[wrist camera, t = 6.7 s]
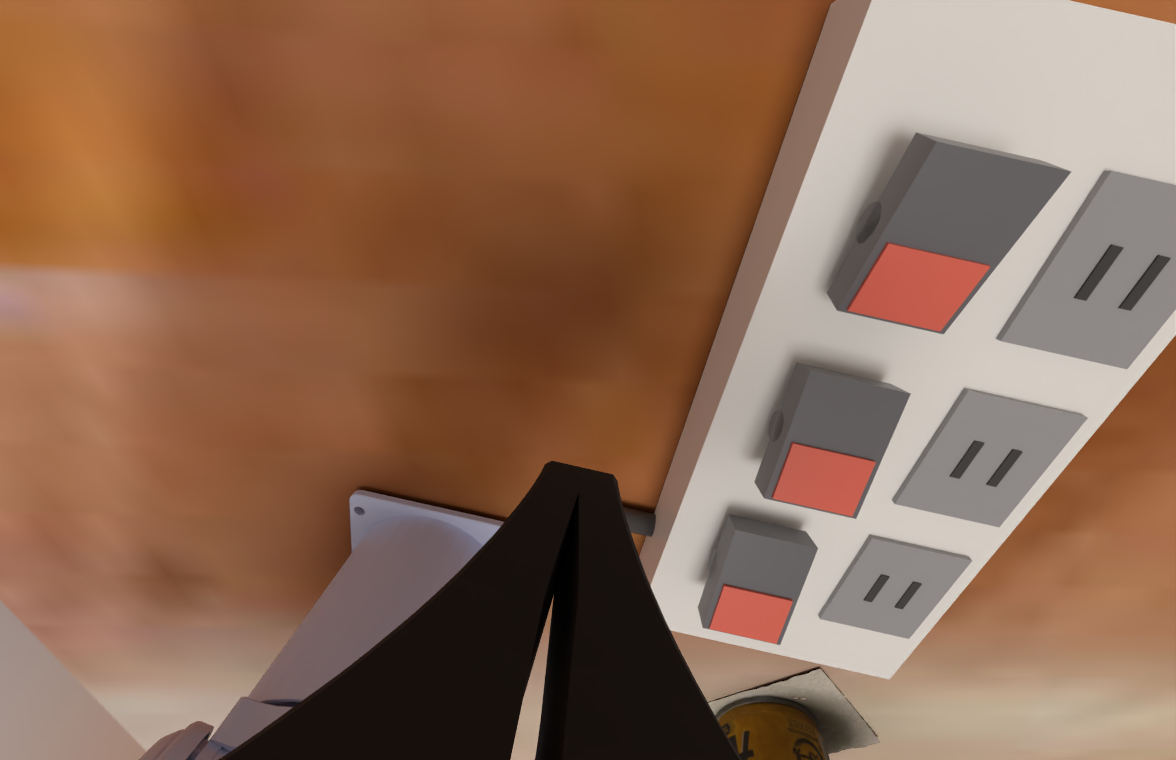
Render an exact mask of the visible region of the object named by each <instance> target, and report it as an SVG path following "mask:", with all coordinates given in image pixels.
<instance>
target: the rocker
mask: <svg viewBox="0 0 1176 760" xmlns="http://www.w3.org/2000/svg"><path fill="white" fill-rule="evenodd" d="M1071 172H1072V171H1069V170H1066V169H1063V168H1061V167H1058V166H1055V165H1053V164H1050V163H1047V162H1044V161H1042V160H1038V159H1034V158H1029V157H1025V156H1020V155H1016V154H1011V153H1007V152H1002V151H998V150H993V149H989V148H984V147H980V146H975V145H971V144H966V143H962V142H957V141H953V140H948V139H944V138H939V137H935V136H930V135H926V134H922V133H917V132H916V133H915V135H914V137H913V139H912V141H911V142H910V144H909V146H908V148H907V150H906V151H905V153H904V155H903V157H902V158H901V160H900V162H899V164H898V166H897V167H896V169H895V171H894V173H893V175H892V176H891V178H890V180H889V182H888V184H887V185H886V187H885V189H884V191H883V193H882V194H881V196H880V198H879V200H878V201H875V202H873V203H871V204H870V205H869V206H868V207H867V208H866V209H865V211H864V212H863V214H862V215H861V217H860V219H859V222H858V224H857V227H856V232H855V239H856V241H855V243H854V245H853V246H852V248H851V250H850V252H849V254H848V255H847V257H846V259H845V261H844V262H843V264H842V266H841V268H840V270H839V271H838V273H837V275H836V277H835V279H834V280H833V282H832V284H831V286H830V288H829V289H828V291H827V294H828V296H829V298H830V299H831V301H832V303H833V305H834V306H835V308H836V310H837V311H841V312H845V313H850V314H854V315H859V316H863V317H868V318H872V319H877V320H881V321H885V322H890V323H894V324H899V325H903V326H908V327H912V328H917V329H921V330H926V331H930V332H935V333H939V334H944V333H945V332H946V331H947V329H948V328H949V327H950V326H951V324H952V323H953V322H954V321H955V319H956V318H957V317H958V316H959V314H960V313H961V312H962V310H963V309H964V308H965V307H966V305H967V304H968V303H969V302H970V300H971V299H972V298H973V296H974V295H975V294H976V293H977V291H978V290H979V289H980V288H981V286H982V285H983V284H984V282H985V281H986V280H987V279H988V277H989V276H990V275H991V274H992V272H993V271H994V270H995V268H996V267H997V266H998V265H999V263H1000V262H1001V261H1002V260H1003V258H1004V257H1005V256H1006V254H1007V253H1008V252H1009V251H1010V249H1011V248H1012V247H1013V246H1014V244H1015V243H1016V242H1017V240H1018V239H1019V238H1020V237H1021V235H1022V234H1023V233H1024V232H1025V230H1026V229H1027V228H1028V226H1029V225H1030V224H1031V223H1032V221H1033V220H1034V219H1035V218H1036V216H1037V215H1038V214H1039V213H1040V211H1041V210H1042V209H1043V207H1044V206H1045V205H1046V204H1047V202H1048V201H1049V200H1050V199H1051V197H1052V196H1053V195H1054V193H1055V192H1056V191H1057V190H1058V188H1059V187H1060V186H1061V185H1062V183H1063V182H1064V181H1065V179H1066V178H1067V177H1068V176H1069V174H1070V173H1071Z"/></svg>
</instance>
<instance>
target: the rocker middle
mask: <svg viewBox="0 0 1176 760" xmlns="http://www.w3.org/2000/svg"><path fill="white" fill-rule="evenodd" d="M909 397H910V393H908V392H906V391H904V390H902V389H900V388H898V387H896V386H894V385H892V384H890V383H886V382H882V381H877V380H873V379H868V378H864V377H859V376H855V375H850V374H846V373H841V372H837V371H832V370H828V369H823V368H819V367H814V366H810V365H806V364H801V363H796V366H795V369H794V371H793V374H792V377H791V380H790V383H789V386H788V388H787V391H786V394H785V397H784V400H783V402H782V405H781V408H780V410H777V411H775V412H774V414H773V415H772V417H771V420H770V423H769V429H768V435H769V442H768V445H767V448H766V450H765V453H764V456H763V459H762V462H761V465H760V467H759V470H758V473H757V476H756V479H755V484H756V486H757V488H758V489H759V491H760V493H761V494H762V496H763V498H764V499H769V500H773V501H778V502H782V503H787V504H791V505H796V506H800V507H804V508H809V509H813V510H818V511H822V512H827V513H831V514H836V515H840V516H845V517H849V518H854V519H856V518H857V516H858V514H859V511H860V509H861V507H862V505H863V502H864V500H865V498H866V495H867V493H868V491H869V488H870V486H871V484H872V482H873V479H874V477H875V475H876V472H877V470H878V468H879V466H880V463H881V461H882V459H883V456H884V454H885V452H886V449H887V447H888V445H889V443H890V440H891V438H892V436H893V433H894V431H895V429H896V427H897V424H898V422H899V420H900V417H901V415H902V413H903V411H904V408H905V406H906V404H907V401H908V399H909Z"/></svg>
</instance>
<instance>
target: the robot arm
mask: <svg viewBox="0 0 1176 760" xmlns="http://www.w3.org/2000/svg"><path fill="white" fill-rule="evenodd" d="M349 503H350V524H351V546H352V553H351V555H350V556H349V558H348V559H347V560H346V562H345V563H344V564H343V566H342V567H341V569H340V570H339V571H338V573H337V574H336V576H335V577H334V578H333V580H332V581H331V582H330V584H329V585H328V587H327V588H326V589H325V591H324V592H323V594H322V595H321V596H320V598H319V599H318V600H317V602H316V603H315V605H314V606H313V607H312V609H311V610H310V612H309V613H308V614H307V616H306V617H305V618H304V620H303V621H302V623H301V624H300V625H299V627H298V628H297V630H296V631H295V632H294V634H293V635H292V636H291V638H290V639H289V641H288V642H287V643H286V645H285V646H284V648H283V649H282V650H281V652H280V653H279V654H278V656H277V657H276V659H275V660H274V661H273V663H272V664H271V666H270V667H269V668H268V670H267V671H266V672H265V674H264V675H263V677H262V678H261V679H260V681H259V682H258V684H257V685H256V686H255V688H254V689H253V690H252V692H251V693H250V695H249V696H248V697H241V698H240V699H239V701H238V702H237V703H236V705H235V706H234V708H233V709H232V710H231V712H230V713H229V714H228V716H227V717H226V718H225V720H224V721H223V723H222V724H221V725H220V727H219V728H218V729H217V731H216V732H215V733H214V735H213V736H212V738H211V739H210V740H209V741H208V738H209V737H210V735H211V733H212V731H213V729H214V727H213V726H211V725H209V724H207V723H204V722H202V721H197V722H194V723H192V724H190V725H189V726H188V727H187V728H186V729H182V730H179V731H177V732H174V733H172V734H169V735H167V736H165V737H163V738H161V739H160V740H159V741H157V742H156V743H155V744H154V745H153V746H152V747H151V748H150V749H149V750H148V751H147V752H146V753H145V754H144V755H143V756H142V757H141V758H140V759H139V760H510V758H511V753H512V749H513V744H514V739H515V734H516V729H517V725H518V720H519V715H520V710H521V705H522V701H523V697H524V694H525V690H526V687H527V683H528V680H529V677H530V673H531V670H532V666H533V663H534V660H535V656H536V653H537V650H538V646H539V643H540V639H541V636H542V633H543V629H544V626H545V622H546V619H547V616H548V612H549V609H550V606H551V602H552V599H553V595H554V599H553V608H552V617H551V627H550V636H549V646H548V655H547V665H546V675H545V684H544V694H543V703H542V713H541V722H540V730H539V737H538V744H537V751H536V757H535V760H742V759H741V758H740V756H739V754H738V753H737V751H736V750H735V748H734V746H733V745H732V743H731V742H730V740H729V738H728V737H727V735H726V734H725V732H724V730H723V729H722V727H721V725H720V724H719V722H718V720H717V718H716V716H715V715H714V713H713V711H712V709H711V708H710V706H709V704H708V702H707V700H706V699H705V697H704V695H703V693H702V691H701V690H700V688H699V686H698V684H697V683H696V681H695V679H694V677H693V675H692V673H691V671H690V669H689V667H688V665H687V663H686V661H685V659H684V658H683V656H682V654H681V652H680V650H679V648H678V646H677V644H676V642H675V640H674V638H673V635H672V633H671V631H670V629H669V627H668V625H667V623H666V621H665V618H664V616H663V614H662V612H661V609H660V607H659V605H658V602H657V600H656V598H655V596H654V593H653V591H652V589H651V586H650V584H649V581H648V579H647V576H646V574H645V571H644V568H643V566H642V563H641V560H640V558H639V555H638V552H637V549H636V547H635V544H634V541H633V538H632V535H631V532H630V529H629V526H628V522H627V519H626V516H625V513H624V509H623V505H622V501H621V497H620V493H619V488H618V482H617V480H616V478H615V477H614V475H613V474H608V473H604V472H599V471H595V470H591V469H586V468H582V467H577V466H573V465H568V464H564V463H559V462H555V461H551V462H549V463H547V464H545V466H544V468H543V470H542V472H541V473H540V475H539V477H538V478H537V480H536V482H535V483H534V485H533V486H532V487H531V489H530V490H529V492H528V493H527V494H526V496H525V497H524V498H523V500H522V501H521V502H520V504H519V505H518V506H517V507H516V509H515V510H514V511H513V512H512V514H511V515H510V516H509V517H508V518H507V520H506V521H505V522H503V521H498V520H494V519H489V518H485V517H480V516H476V515H472V514H467V513H463V512H458V511H454V510H449V509H445V508H440V507H436V506H431V505H427V504H422V503H418V502H413V501H409V500H405V499H400V498H396V497H391V496H387V495H382V494H378V493H373V492H369V491H364V490H357V491H355V492H354V493H353V494H352V495H351V497H350V500H349ZM360 507H361V508H363V509H361V508H360Z"/></svg>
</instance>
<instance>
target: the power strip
mask: <svg viewBox="0 0 1176 760" xmlns="http://www.w3.org/2000/svg"><path fill="white" fill-rule="evenodd" d="M916 132H917V133H922V134H926V135H930V136H935V137H939V138H944V139H948V140H953V141H957V142H962V143H966V144H971V145H975V146H980V147H984V148H989V149H993V150H998V151H1002V152H1007V153H1011V154H1016V155H1020V156H1025V157H1029V158H1034V159H1038V160H1042V161H1044V162H1047V163H1050V164H1053V165H1055V166H1058V167H1061V168H1063V169H1066V170H1069V171H1072V172H1071V173H1070V174H1069V176H1068V177H1067V178H1066V179H1065V181H1064V182H1063V183H1062V185H1061V186H1060V187H1059V188H1058V190H1057V191H1056V192H1055V193H1054V195H1053V196H1052V197H1051V199H1050V200H1049V201H1048V202H1047V204H1046V205H1045V206H1044V207H1043V209H1042V210H1041V211H1040V213H1039V214H1038V215H1037V216H1036V218H1035V219H1034V220H1033V221H1032V223H1031V224H1030V225H1029V226H1028V228H1027V229H1026V230H1025V232H1024V233H1023V234H1022V235H1021V237H1020V238H1019V239H1018V240H1017V242H1016V243H1015V244H1014V246H1013V247H1012V248H1011V249H1010V251H1009V252H1008V253H1007V254H1006V256H1005V257H1004V258H1003V260H1002V261H1001V262H1000V263H999V265H998V266H997V267H996V268H995V270H994V271H993V272H992V274H991V275H990V276H989V277H988V279H987V280H986V281H985V282H984V284H983V285H982V286H981V288H980V289H979V290H978V291H977V293H976V294H975V295H974V296H973V298H972V299H971V300H970V302H969V303H968V304H967V305H966V307H965V308H964V309H963V310H962V312H961V313H960V314H959V316H958V317H957V318H956V319H955V321H954V322H953V323H952V324H951V326H950V327H949V328H948V329H947V331H946V332H945V333H944V334H939V333H935V332H930V331H926V330H921V329H917V328H912V327H908V326H903V325H899V324H894V323H890V322H885V321H881V320H877V319H872V318H868V317H863V316H859V315H854V314H850V313H845V312H841V311H837V310H836V308H835V306H834V305H833V303H832V301H831V299H830V298H829V296H828V294H827V291H828V289H829V288H830V286H831V284H832V282H833V280H834V279H835V277H836V275H837V273H838V271H839V270H840V268H841V266H842V264H843V262H844V261H845V259H846V257H847V255H848V254H849V252H850V250H851V248H852V246H853V245H854V243H855V241H856V239H855V232H856V227H857V224H858V222H859V219H860V217H861V215H862V214H863V212H864V211H865V209H866V208H867V207H868V206H869V205H870V204H871V203H873V202H875V201H878V200H879V198H880V196H881V194H882V193H883V191H884V189H885V187H886V185H887V184H888V182H889V180H890V178H891V176H892V175H893V173H894V171H895V169H896V167H897V166H898V164H899V162H900V160H901V158H902V157H903V155H904V153H905V151H906V150H907V148H908V146H909V144H910V142H911V141H912V139H913V137H914V135H915V133H916ZM1175 335H1176V24H1173V23H1168V22H1164V21H1159V20H1155V19H1150V18H1146V17H1141V16H1137V15H1132V14H1128V13H1123V12H1119V11H1114V10H1110V9H1105V8H1101V7H1096V6H1092V5H1087V4H1083V3H1078V2H1074V1H1069V0H836V1H834V2H833V3H832V4H831V5H830V8H829V11H828V14H827V17H826V19H825V22H824V25H823V28H822V31H821V34H820V37H819V40H818V42H817V45H816V48H815V51H814V54H813V57H812V60H811V63H810V65H809V68H808V71H807V74H806V77H805V80H804V83H803V86H802V89H801V91H800V94H799V97H798V100H797V103H796V106H795V109H794V112H793V114H792V117H791V120H790V123H789V126H788V129H787V132H786V135H785V137H784V140H783V143H782V146H781V149H780V152H779V155H778V158H777V161H776V163H775V166H774V169H773V172H772V175H771V178H770V181H769V184H768V186H767V189H766V192H765V195H764V198H763V201H762V204H761V207H760V210H759V212H758V215H757V218H756V221H755V224H754V227H753V230H752V233H751V235H750V238H749V241H748V244H747V247H746V250H745V253H744V256H743V258H742V261H741V264H740V267H739V270H738V273H737V276H736V279H735V282H734V284H733V287H732V290H731V293H730V296H729V299H728V302H727V305H726V307H725V310H724V313H723V316H722V319H721V322H720V325H719V328H718V330H717V333H716V336H715V339H714V342H713V345H712V348H711V351H710V354H709V356H708V359H707V362H706V365H705V368H704V371H703V374H702V377H701V379H700V382H699V385H698V388H697V391H696V394H695V397H694V400H693V402H692V405H691V408H690V411H689V414H688V417H687V420H686V423H685V426H684V428H683V431H682V434H681V437H680V440H679V443H678V446H677V449H676V451H675V454H674V457H673V460H672V463H671V466H670V469H669V472H668V474H667V477H666V480H665V483H664V486H663V489H662V492H661V495H660V498H659V500H658V503H657V506H656V509H655V512H654V514H653V513H648V512H644V511H639V510H635V509H630V508H626V507H623V509H624V513H625V516H626V519H627V522H628V526H629V529H630V532H632V533H636V534H640V535H645V536H646V538H645V541H644V544H643V547H642V549H641V552H640V555H639V558H640V560H641V563H642V566H643V568H644V571H645V574H646V576H647V579H648V581H649V584H650V586H651V589H652V591H653V593H654V596H655V598H656V600H657V602H658V605H659V607H660V609H661V612H662V614H663V616H664V618H665V621H666V623H667V625H668V627H669V629H670V630H671V631H676V632H680V633H685V634H689V635H693V636H698V637H702V638H707V639H711V640H716V641H720V642H725V643H729V644H734V645H738V646H743V647H747V648H752V649H756V650H760V651H765V652H769V653H774V654H778V655H783V656H787V657H792V658H796V659H801V660H805V661H810V662H814V663H818V664H823V665H827V666H832V667H836V668H841V669H845V670H850V671H854V672H859V673H863V674H868V675H872V676H877V677H881V678H885V679H890V678H891V677H892V676H893V674H894V673H895V672H896V671H897V670H898V668H899V667H900V666H901V665H902V664H903V662H904V661H905V660H906V659H907V658H908V656H909V655H910V654H911V653H912V652H913V650H914V649H915V648H916V647H917V646H918V644H919V643H920V642H921V641H922V640H923V638H924V637H925V636H926V635H927V634H928V632H929V631H930V630H931V629H932V628H933V626H934V625H935V624H936V623H937V621H938V620H939V619H940V618H941V617H942V615H943V614H944V613H945V612H946V611H947V609H948V608H949V607H950V606H951V605H952V603H953V602H954V601H955V600H956V599H957V597H958V596H959V595H960V594H961V593H962V591H963V590H964V589H965V588H966V587H967V585H968V584H969V583H970V582H971V581H972V579H973V578H974V577H975V576H976V575H977V573H978V572H979V571H980V570H981V569H982V567H983V566H984V565H985V564H986V562H987V561H988V560H989V559H990V558H991V556H992V555H993V554H994V553H995V552H996V550H997V549H998V548H999V547H1000V546H1001V544H1002V543H1003V542H1004V541H1005V540H1006V538H1007V537H1008V536H1009V535H1010V534H1011V532H1012V531H1013V530H1014V529H1015V528H1016V526H1017V525H1018V524H1019V523H1020V522H1021V520H1022V519H1023V518H1024V517H1025V516H1026V514H1027V513H1028V512H1029V511H1030V510H1031V508H1032V507H1033V506H1034V505H1035V503H1036V502H1037V501H1038V500H1039V499H1040V497H1041V496H1042V495H1043V494H1044V493H1045V491H1046V490H1047V489H1048V488H1049V487H1050V485H1051V484H1052V483H1053V482H1054V481H1055V479H1056V478H1057V477H1058V476H1059V475H1060V473H1061V472H1062V471H1063V470H1064V469H1065V467H1066V466H1067V465H1068V464H1069V463H1070V461H1071V460H1072V459H1073V458H1074V457H1075V455H1076V454H1077V453H1078V452H1079V450H1080V449H1081V448H1082V447H1083V446H1084V444H1085V443H1086V442H1087V441H1088V440H1089V438H1090V437H1091V436H1092V435H1093V434H1094V432H1095V431H1096V430H1097V429H1098V428H1099V426H1100V425H1101V424H1102V423H1103V422H1104V420H1105V419H1106V418H1107V417H1108V416H1109V414H1110V413H1111V412H1112V411H1113V410H1114V408H1115V407H1116V406H1117V405H1118V404H1119V402H1120V401H1121V400H1122V399H1123V398H1124V396H1125V395H1126V394H1127V393H1128V391H1129V390H1130V389H1131V388H1132V387H1133V385H1134V384H1135V383H1136V382H1137V381H1138V379H1139V378H1140V377H1141V376H1142V375H1143V373H1144V372H1145V371H1146V370H1147V369H1148V367H1149V366H1150V365H1151V364H1152V363H1153V361H1154V360H1155V359H1156V358H1157V357H1158V355H1159V354H1160V353H1161V352H1162V351H1163V349H1164V348H1165V347H1166V346H1167V345H1168V343H1169V342H1170V341H1171V340H1172V339H1173V337H1174V336H1175ZM796 363H801V364H806V365H810V366H814V367H819V368H823V369H828V370H832V371H837V372H841V373H846V374H850V375H855V376H859V377H864V378H868V379H873V380H877V381H882V382H886V383H890V384H892V385H894V386H896V387H898V388H900V389H902V390H904V391H906V392H908V393H910V397H909V399H908V401H907V404H906V406H905V408H904V411H903V413H902V415H901V417H900V420H899V422H898V424H897V427H896V429H895V431H894V433H893V436H892V438H891V440H890V443H889V445H888V447H887V449H886V452H885V454H884V456H883V459H882V461H881V463H880V466H879V468H878V470H877V472H876V475H875V477H874V479H873V482H872V484H871V486H870V488H869V491H868V493H867V495H866V498H865V500H864V502H863V505H862V507H861V509H860V511H859V514H858V516H857V518H856V519H854V518H849V517H845V516H840V515H836V514H831V513H827V512H822V511H818V510H813V509H809V508H804V507H800V506H796V505H791V504H787V503H782V502H778V501H773V500H769V499H764V498H763V496H762V494H761V493H760V491H759V489H758V488H757V486H756V484H755V479H756V476H757V473H758V470H759V467H760V465H761V462H762V459H763V456H764V453H765V450H766V448H767V445H768V442H769V435H768V429H769V423H770V420H771V417H772V415H773V414H774V412H775V411H777V410H780V408H781V405H782V402H783V400H784V397H785V394H786V391H787V388H788V386H789V383H790V380H791V377H792V374H793V371H794V369H795V366H796ZM728 514H731V515H735V516H740V517H744V518H748V519H753V520H757V521H762V522H766V523H771V524H775V525H780V526H784V527H789V528H793V529H798V530H802V531H806V532H807V533H808V535H809V536H810V538H811V539H812V540H813V542H814V543H815V545H816V546H817V547H818V550H817V553H816V555H815V558H814V560H813V563H812V565H811V568H810V570H809V573H808V576H807V578H806V581H805V583H804V586H803V588H802V591H801V593H800V596H799V598H798V601H797V604H796V606H795V609H794V611H793V614H792V616H791V619H790V621H789V624H788V626H787V629H786V632H785V634H784V637H783V639H782V642H781V644H780V645H777V644H773V643H768V642H764V641H759V640H755V639H750V638H746V637H741V636H737V635H732V634H728V633H723V632H719V631H714V630H710V629H706V628H703V627H702V623H701V619H700V615H699V611H698V605H699V602H700V599H701V596H702V593H703V590H704V587H705V584H706V581H707V578H708V575H709V570H708V566H709V559H710V555H711V553H712V551H713V550H714V549H715V550H717V547H718V544H719V541H720V538H721V535H722V532H723V529H724V526H725V523H726V520H727V517H728Z"/></svg>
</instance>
